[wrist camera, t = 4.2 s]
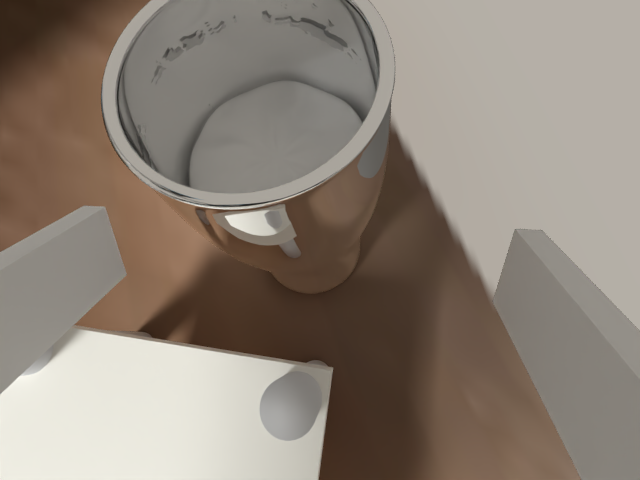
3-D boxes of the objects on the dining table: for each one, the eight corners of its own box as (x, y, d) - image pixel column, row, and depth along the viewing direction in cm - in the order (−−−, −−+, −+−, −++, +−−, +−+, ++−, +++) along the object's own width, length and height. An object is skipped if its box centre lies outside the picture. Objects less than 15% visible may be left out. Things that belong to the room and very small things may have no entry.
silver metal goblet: (351, 183, 23) (357, -80, 9) (380, 286, 21) (452, 167, 7) (249, 209, 23) (84, -10, 9) (268, 313, 21) (95, 256, 7)
